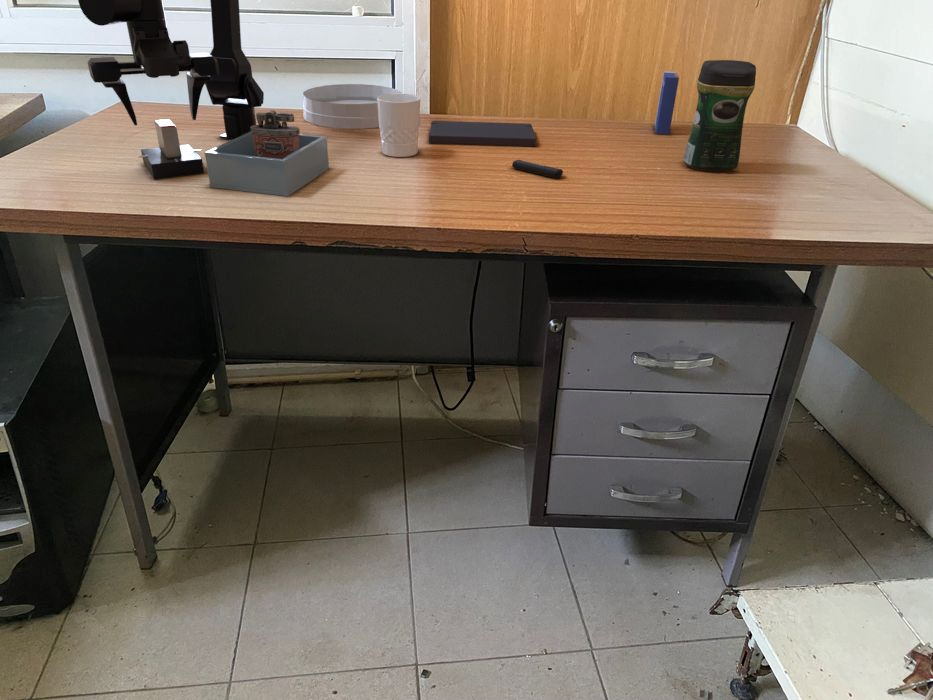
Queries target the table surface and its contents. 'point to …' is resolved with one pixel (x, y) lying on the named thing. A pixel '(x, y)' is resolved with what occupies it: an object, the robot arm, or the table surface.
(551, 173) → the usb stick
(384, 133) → the white cup
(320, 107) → the dish
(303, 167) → the basin
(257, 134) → the lighter
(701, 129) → the coffee jar
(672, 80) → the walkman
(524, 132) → the notebook
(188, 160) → the panel
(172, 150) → the red-capped metal block
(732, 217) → the table surface
